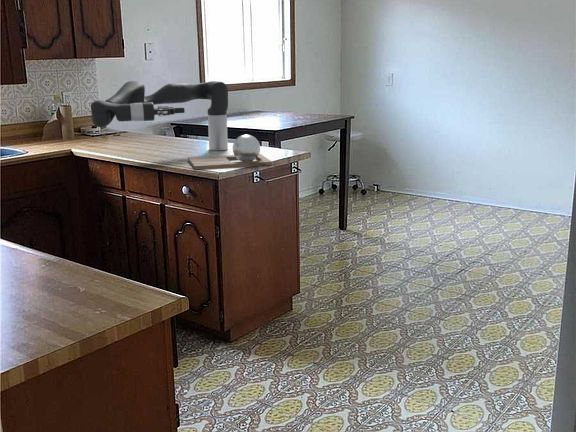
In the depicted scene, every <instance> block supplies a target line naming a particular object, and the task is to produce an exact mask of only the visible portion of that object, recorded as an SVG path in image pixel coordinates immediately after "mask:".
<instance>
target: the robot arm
mask: <svg viewBox="0 0 576 432" xmlns="http://www.w3.org/2000/svg"><path fill="white" fill-rule="evenodd" d="M145 89H146V88H145V84H144V83H142V82H141V81H139V80H138V81H137V80H130V81H127V82H125V83H124V84H123V85H122V86H121V87H120V88H119V90H117V92H116V93H114V94H113V95H112V96H110V97H109V98H107V99H105V100H95V101H93V102H92V103H91V104H90V112H91V120H92V124H93V125H94V126H95V127H98V128H105V127H107V126H109V125H110V124H111V123H112V122H113V120H114V118H116V121H118V122H153V121H155V119H156V118H155V116H157V115H158V117H165V116H170V115H171V116H173V115H175V114H185V108H184V107H181V106H180V107H174V106H167V105H166V104H168V105H169V104H182V103H187V102H190V101H194V100H209V101H210V100H211V101H210V102H211V105H210V107H209V108H207V126H208V128H207V130H208V148H209V151H226V150H228V148H229V147H228V144H229V143H228V122H227V121H228V115H227V111H228V109H229V90H228V86H227V85H226V84H225V82H223V81H220V80H219V81H217V80H211V81H205V82H200V83H188V82H185V83H184V82H176V83H175V82H172V83H168V84H167V83H166V84H165V85H163V86H161V88H159V89H157V90H156V91H155V92H153V93H152V94H149V95H146V93H145V92H146V90H145ZM164 104H165V105H166V106H162V105H164ZM154 105H158V106H157V107H154Z"/></svg>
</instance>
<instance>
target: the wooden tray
mask: <svg viewBox="0 0 576 432" xmlns="http://www.w3.org/2000/svg"><path fill="white" fill-rule="evenodd" d="M187 162H188V163H189V164H190V165H191V167H192V168H193V169H194V170H210V169H225V168H226V169H227V168H242V167H243V168H245V167H247V168H248V167H263V166H272V165H273V161H272V160H270V159H269V158H267V157H266V156H265V155H263V154H261V153H259V155H258V157H257V158H256V159H255V160H253V161H244V162H242V161H239V160H238V159H237V158H236V157H235V155H234V154H232V155H231V154H229V155H211V156H193V157H187Z"/></svg>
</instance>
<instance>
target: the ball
mask: <svg viewBox="0 0 576 432" xmlns="http://www.w3.org/2000/svg"><path fill="white" fill-rule="evenodd" d="M232 152H233V155H235V157H236V158H237V159H238V160H237V161H239V162H244V161H256V160H257V159H256V158H257V157H258V155H259V154H261V153H260V152H261V145H260V143H259V140H258V139H257V138H256V137H255V136H253V135H251V134H243V135H239V136H238V137H236V139H235V140H234V141H233V144H232Z"/></svg>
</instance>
